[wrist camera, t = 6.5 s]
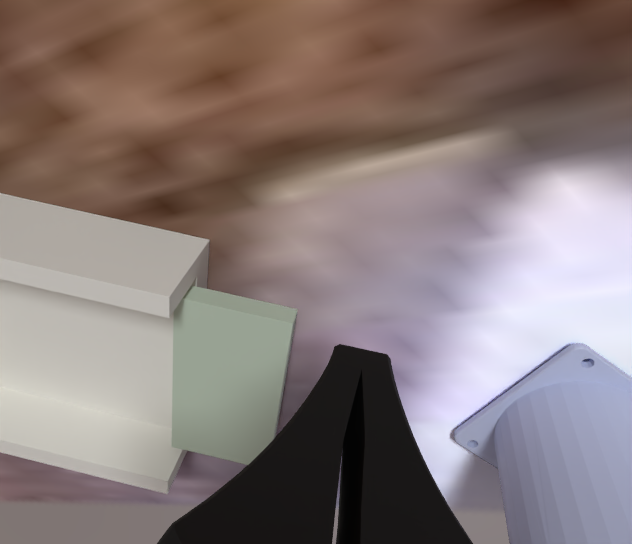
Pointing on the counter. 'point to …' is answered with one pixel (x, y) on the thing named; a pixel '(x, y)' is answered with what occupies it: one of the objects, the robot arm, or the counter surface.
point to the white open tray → (91, 340)
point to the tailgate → (228, 373)
